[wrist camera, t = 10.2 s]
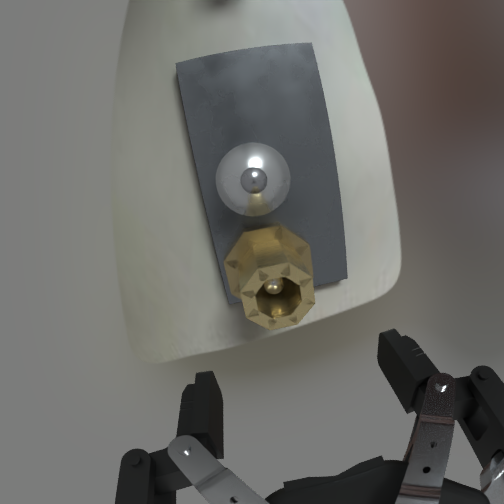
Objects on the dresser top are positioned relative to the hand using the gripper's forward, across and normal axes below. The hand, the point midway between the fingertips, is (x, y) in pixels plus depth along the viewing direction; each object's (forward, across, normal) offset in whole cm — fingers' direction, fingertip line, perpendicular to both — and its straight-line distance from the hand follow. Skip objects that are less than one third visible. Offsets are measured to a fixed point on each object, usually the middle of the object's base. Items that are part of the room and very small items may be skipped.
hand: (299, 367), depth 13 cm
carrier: (+14, -2, -7) cm, 16 cm away
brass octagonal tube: (+13, 0, 0) cm, 13 cm away
